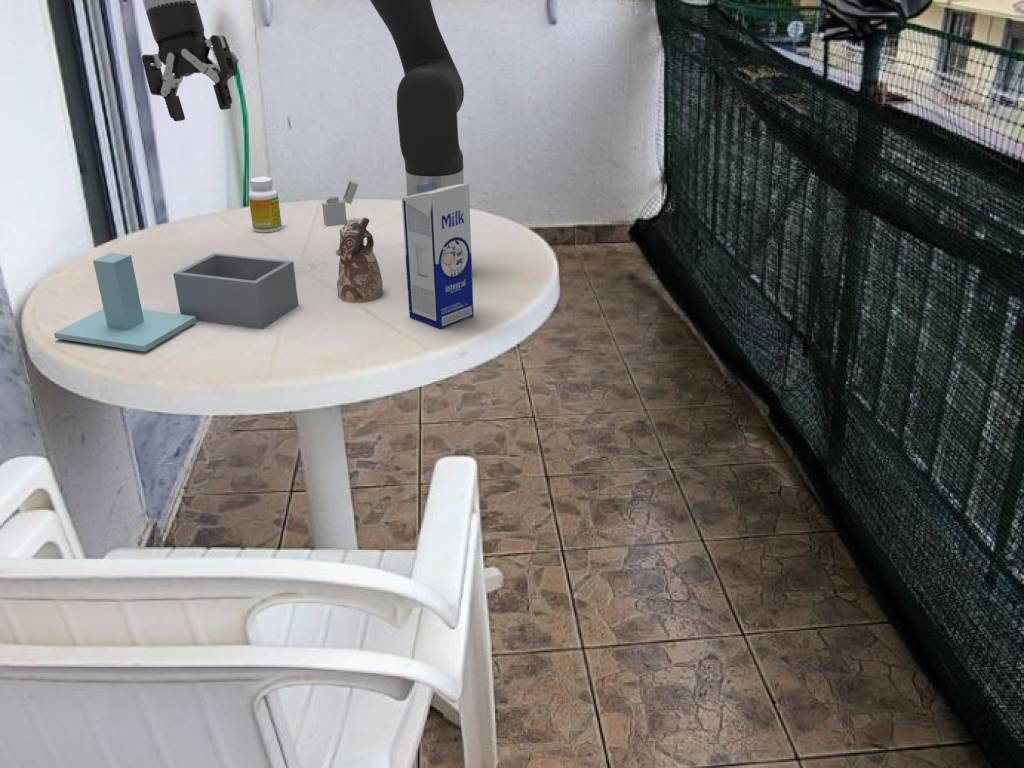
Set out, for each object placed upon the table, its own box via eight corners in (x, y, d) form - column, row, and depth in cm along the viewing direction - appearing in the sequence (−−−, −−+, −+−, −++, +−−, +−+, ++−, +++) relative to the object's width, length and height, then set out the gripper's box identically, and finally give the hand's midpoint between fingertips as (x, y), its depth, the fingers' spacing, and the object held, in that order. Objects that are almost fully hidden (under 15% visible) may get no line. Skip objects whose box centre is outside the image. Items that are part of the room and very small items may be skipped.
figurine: (329, 293, 149) (321, 219, 144) (368, 283, 153) (362, 211, 147) (351, 306, 144) (344, 229, 139) (391, 295, 148) (386, 221, 142)
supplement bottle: (278, 233, 179) (271, 182, 175) (250, 233, 179) (242, 182, 175) (284, 225, 184) (278, 175, 179) (257, 225, 184) (250, 175, 180)
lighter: (326, 226, 182) (322, 185, 179) (324, 224, 184) (319, 183, 180) (361, 221, 185) (358, 181, 182) (359, 219, 187) (355, 179, 183)
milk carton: (439, 329, 135) (432, 191, 126) (408, 318, 139) (399, 183, 130) (474, 315, 139) (470, 181, 131) (443, 305, 144) (437, 174, 135)
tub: (298, 304, 144) (293, 261, 141) (262, 328, 136) (255, 283, 133) (220, 295, 149) (214, 253, 146) (181, 318, 140) (173, 273, 137)
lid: (196, 321, 138) (184, 250, 133) (145, 351, 128) (130, 276, 123) (110, 309, 142) (96, 241, 138) (55, 338, 133) (37, 265, 128)
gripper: (116, 15, 140) (150, 126, 144) (196, -9, 135) (228, 106, 140) (147, 18, 147) (179, 123, 151) (224, -6, 142) (254, 104, 147)
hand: (202, 114), depth 145 cm, fingers open, 8 cm apart
